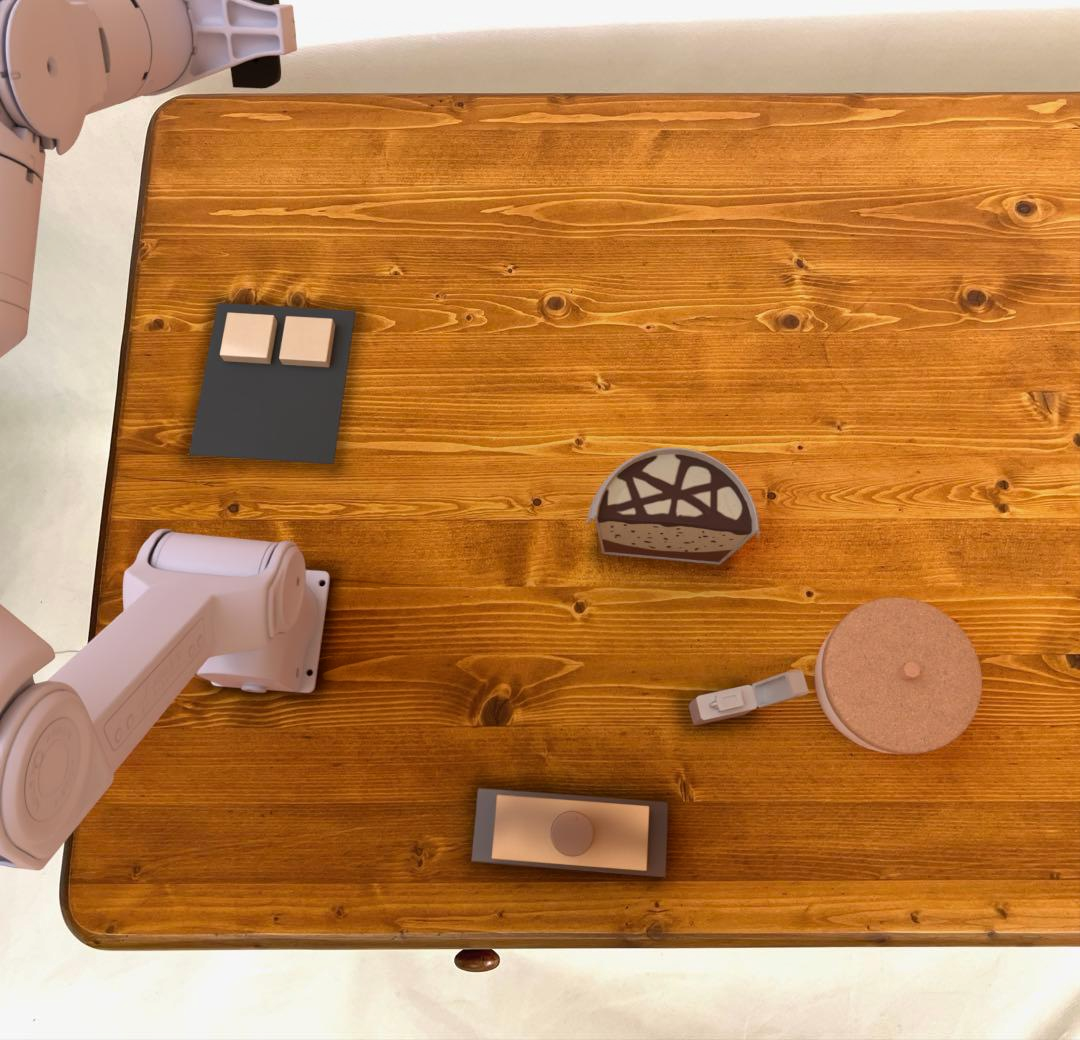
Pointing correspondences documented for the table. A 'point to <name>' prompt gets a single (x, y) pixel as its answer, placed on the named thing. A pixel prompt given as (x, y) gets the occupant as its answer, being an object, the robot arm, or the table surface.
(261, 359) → the chip left
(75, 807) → the robot arm
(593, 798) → the dark grey rectangular block
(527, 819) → the brown block with peg
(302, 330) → the chip right
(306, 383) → the mat
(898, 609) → the trinket box
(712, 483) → the brown half-round block
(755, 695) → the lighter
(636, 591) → the table surface
